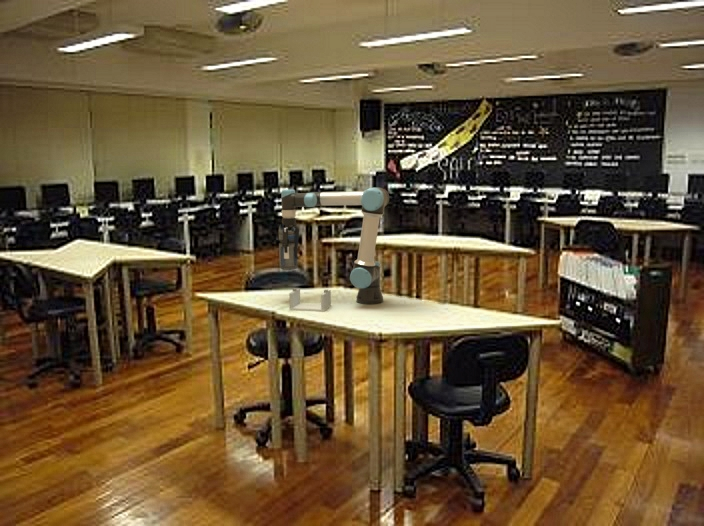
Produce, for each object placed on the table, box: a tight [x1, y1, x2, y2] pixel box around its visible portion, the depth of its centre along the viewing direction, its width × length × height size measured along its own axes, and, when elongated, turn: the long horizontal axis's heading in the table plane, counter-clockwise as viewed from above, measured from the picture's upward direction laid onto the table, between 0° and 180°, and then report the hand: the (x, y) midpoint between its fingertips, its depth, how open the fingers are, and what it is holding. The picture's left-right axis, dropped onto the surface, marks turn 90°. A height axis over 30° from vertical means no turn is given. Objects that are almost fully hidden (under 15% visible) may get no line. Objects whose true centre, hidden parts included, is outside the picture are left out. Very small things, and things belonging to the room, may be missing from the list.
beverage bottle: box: [278, 224, 300, 271], centre depth 347 cm, size 10×13×25 cm
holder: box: [288, 287, 332, 313], centre depth 335 cm, size 19×14×10 cm
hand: (289, 257), depth 348 cm, fingers closed on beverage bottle, 10 cm apart
